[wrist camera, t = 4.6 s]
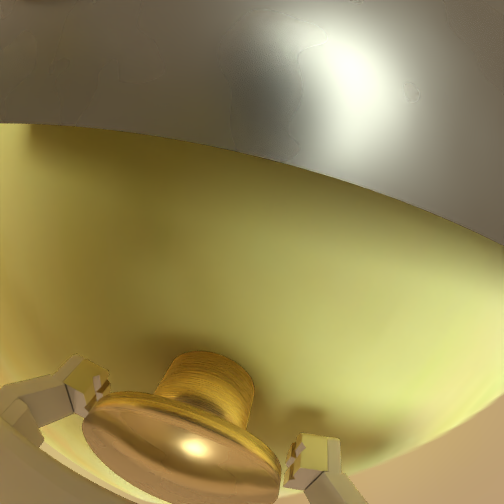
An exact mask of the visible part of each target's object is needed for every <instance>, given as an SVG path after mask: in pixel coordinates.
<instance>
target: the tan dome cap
mask: <svg viewBox="0 0 504 504" xmlns="http://www.w3.org/2000/svg"><path fill="white" fill-rule="evenodd" d="M254 392H255V389H254V384H253V381H252V379H251V377H250V376H249V374H248V373H247V372H246V371H245V370H244V369H243V368H242V367H241V366H240V365H239V364H237V363H236V362H234V361H233V360H231V359H229V358H227V357H225V356H222V355H220V354H216V353H213V352H207V351H191V352H187V353H183V354H181V355H179V356H178V357H176V358H175V359H174V360H173V362H172V363H171V365H170V367H169V368H168V370H167V372H166V373H165V375H164V377H163V379H162V380H161V382H160V384H159V385H158V387H157V389H156V390H155V392H154V394H148V393H142V392H132V391H124V392H114V393H110V394H107V395H105V396H103V397H102V398H100V399H99V400H98V401H97V403H96V404H95V405H94V407H93V408H92V409H91V411H90V412H89V413H88V415H87V416H86V417H85V419H84V421H83V424H82V430H83V434H84V437H85V439H86V441H87V443H88V444H89V446H90V448H91V449H92V450H93V452H94V453H95V454H96V455H97V456H98V458H99V459H100V460H101V461H102V462H103V463H104V464H105V465H106V466H108V467H109V468H110V469H111V470H112V471H113V472H115V473H116V474H117V475H119V476H120V477H121V478H123V479H124V480H126V481H127V482H129V483H130V484H132V485H134V486H135V487H137V488H139V489H141V490H142V491H144V492H146V493H148V494H150V495H152V496H155V497H157V498H159V499H162V500H164V501H167V502H170V503H172V504H273V503H274V502H275V501H276V499H277V498H278V495H279V488H280V481H281V465H280V462H279V460H278V459H277V457H276V455H275V454H274V453H273V452H272V451H271V450H270V448H269V447H268V446H266V445H265V444H264V443H263V442H262V441H260V440H259V439H258V438H256V437H255V436H253V435H252V434H251V433H249V432H248V431H246V428H247V424H248V420H249V415H250V411H251V407H252V402H253V398H254Z"/></svg>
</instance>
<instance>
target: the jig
mask: <svg viewBox="0 0 504 504" xmlns="http://www.w3.org/2000/svg"><path fill="white" fill-rule="evenodd" d="M0 123H22V124H48V125H64V126H77V127H89V128H99V129H108V130H116V131H124V132H132V133H139V134H146V135H152V136H159V137H165V138H171V139H176V140H182V141H188V142H193V143H198V144H203V145H208V146H213V147H218V148H222V149H227V150H232V151H236V152H240V153H245V154H249V155H253V156H257V157H261V158H265V159H269V160H273V161H277V162H281V163H285V164H288V165H292V166H296V167H299V168H303V169H306V170H310V171H313V172H316V173H320V174H323V175H326V176H330V177H333V178H336V179H339V180H342V181H346V182H349V183H352V184H355V185H358V186H361V187H364V188H367V189H370V190H372V191H375V192H378V193H381V194H384V195H387V196H389V197H392V198H395V199H397V200H400V201H403V202H405V203H408V204H411V205H413V206H416V207H418V208H421V209H423V210H426V211H428V212H431V213H433V214H435V215H438V216H440V217H443V218H445V219H447V220H450V221H452V222H454V223H456V224H459V225H461V226H463V227H465V228H468V229H470V230H472V231H474V232H476V233H478V234H481V235H483V236H485V237H487V238H489V239H491V240H493V241H495V242H497V243H499V244H501V245H503V246H504V0H0Z"/></svg>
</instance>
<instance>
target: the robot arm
mask: <svg viewBox="0 0 504 504" xmlns="http://www.w3.org/2000/svg"><path fill="white" fill-rule="evenodd" d="M108 377H109V370H107V369H105V368H103V367H101V366H99V365H97V364H95V363H94V362H92V361H90V360H88V359H86V358H85V357H83V356H81V355H79V354H77V353H76V354H74V355H72V356H71V357H70V358H69V359H68V360H67V361H66V362H65V363H64V364H63V365H62V366H61V367H60V369H59V370H58V371H57V372H56V373H55V374H54V375H53V376H51V375H50V374H49V375H45V376H41V377H37V378H33V379H29V380H25V381H20V382H16V383H11V384H7V385H4V386H3V387H2V388H1V389H0V504H137V503H135V502H133V501H130V500H128V499H126V498H124V497H121V496H119V495H117V494H115V493H113V492H111V491H109V490H107V489H105V488H103V487H101V486H99V485H98V484H96V483H94V482H92V481H90V480H88V479H87V478H85V477H83V476H81V475H80V474H78V473H76V472H75V471H73V470H71V469H70V468H68V467H67V466H65V465H63V464H62V463H60V462H59V461H57V460H56V459H54V458H53V457H51V456H50V455H48V454H47V453H46V452H44V451H43V450H41V449H40V448H39V447H40V445H41V444H42V443H43V441H44V437H43V435H42V433H41V432H40V430H39V428H40V427H43V426H45V425H47V424H50V423H52V422H55V421H57V420H59V419H62V418H64V417H67V416H69V415H71V414H73V413H76V414H78V415H80V416H81V417H83V418H85V417H86V416H87V415H88V413H89V412H90V411H91V409H92V408H93V407H94V405H95V404H96V403H97V401H98V400H99V399H100V398H102V397H103V396H105V395H107V394H110V389H111V385H110V382H109V381H108V379H107V378H108ZM286 465H287V467H288V469H287V471H286V472H285V473H284V481H283V487H286V488H292V489H298V490H304V493H305V495H306V497H307V499H308V501H309V502H310V504H368V503H367V501H366V500H365V499H364V497H363V496H362V495H361V494H360V492H359V491H358V490H357V489H356V487H355V486H354V484H353V483H352V482H351V481H350V479H349V478H348V477H347V475H346V474H345V473H342V470H341V450H340V440H339V438H333V437H325V436H321V435H314V434H308V433H299V434H298V436H297V437H296V442H294V443H292V444H291V446H290V448H289V450H288V453H287V457H286Z"/></svg>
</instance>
